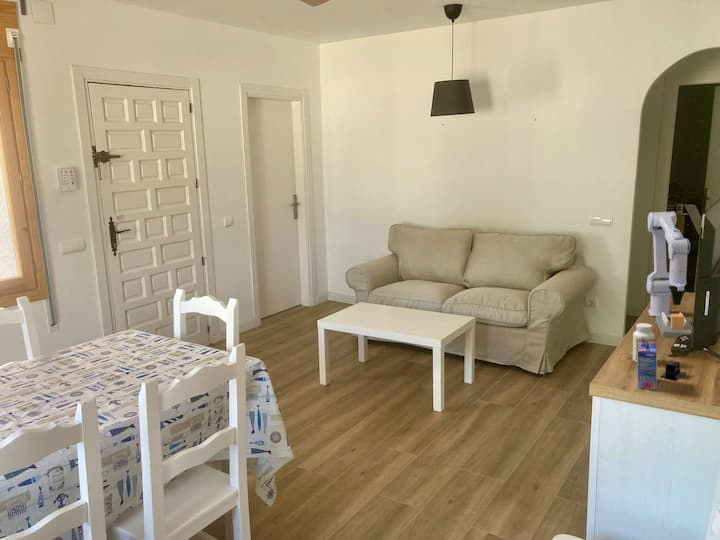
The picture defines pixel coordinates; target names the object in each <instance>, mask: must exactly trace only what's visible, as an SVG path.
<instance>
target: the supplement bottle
mask: <svg viewBox="0 0 720 540" xmlns="http://www.w3.org/2000/svg"><path fill="white" fill-rule="evenodd" d="M652 329H653V326H652V324H649V323H645V322H639V323H637V324H636V330H635V331H634V332H633V333H632V361H634V362H635V363H637V346H638V341H642V338H643V339H644V340H645V341H646V342H656V338H655V337H656V335H655V333H654V332H652Z"/></svg>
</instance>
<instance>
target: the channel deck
mask: <svg viewBox="0 0 720 540" xmlns="http://www.w3.org/2000/svg"><path fill="white" fill-rule="evenodd" d="M678 314H683V313H682V312H678ZM655 322H656V324H657V327H658V329H659V331H660V334H661V336H662V337H663V338H676V337H679V336H681V335H690V334H691V330H692V327H693V325H692V324H691V322H690V321H689V319H688V317H686V316H684V330H682V329H672V328H671V317H669V316H666V315H665V313H664V312H662V316H655Z"/></svg>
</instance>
